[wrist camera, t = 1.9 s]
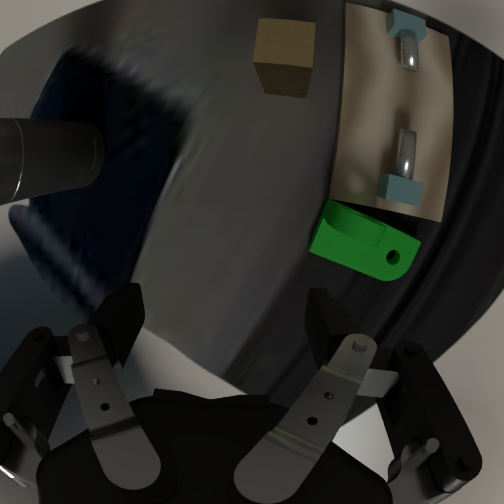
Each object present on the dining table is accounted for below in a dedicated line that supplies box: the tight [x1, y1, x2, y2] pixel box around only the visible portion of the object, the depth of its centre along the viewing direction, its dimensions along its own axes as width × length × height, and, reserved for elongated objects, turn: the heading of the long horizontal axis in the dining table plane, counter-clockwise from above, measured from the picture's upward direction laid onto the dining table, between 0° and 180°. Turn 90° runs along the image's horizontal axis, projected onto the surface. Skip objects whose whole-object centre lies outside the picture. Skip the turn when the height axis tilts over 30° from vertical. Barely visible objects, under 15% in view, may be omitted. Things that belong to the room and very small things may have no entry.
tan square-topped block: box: [253, 18, 316, 98], centre depth 21 cm, size 4×4×10 cm
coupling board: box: [329, 2, 453, 222], centre depth 22 cm, size 14×25×4 cm, turn 174°
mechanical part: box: [308, 198, 421, 281], centre depth 26 cm, size 12×6×8 cm, turn 71°
